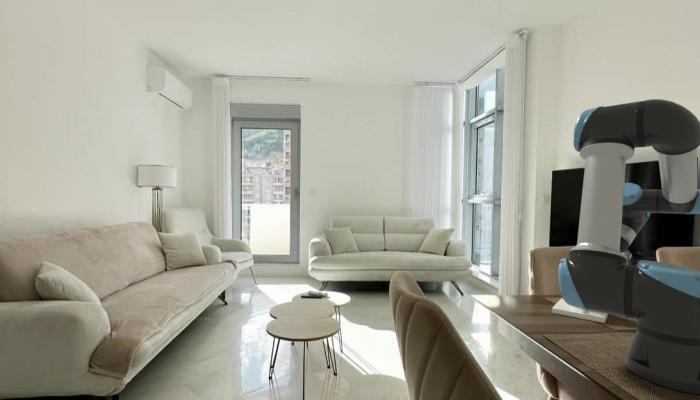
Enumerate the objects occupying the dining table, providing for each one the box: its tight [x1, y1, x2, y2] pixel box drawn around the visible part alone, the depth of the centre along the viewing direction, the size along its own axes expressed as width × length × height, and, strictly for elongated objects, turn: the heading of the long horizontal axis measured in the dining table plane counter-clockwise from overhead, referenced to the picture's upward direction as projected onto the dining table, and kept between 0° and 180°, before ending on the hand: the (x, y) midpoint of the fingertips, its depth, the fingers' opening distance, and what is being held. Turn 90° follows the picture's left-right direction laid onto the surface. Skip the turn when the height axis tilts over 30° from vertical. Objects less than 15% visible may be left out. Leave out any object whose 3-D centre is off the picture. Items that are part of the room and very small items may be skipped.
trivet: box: [551, 297, 609, 324], centre depth 115 cm, size 15×14×2 cm
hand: (585, 286), depth 115 cm, fingers open, 13 cm apart
